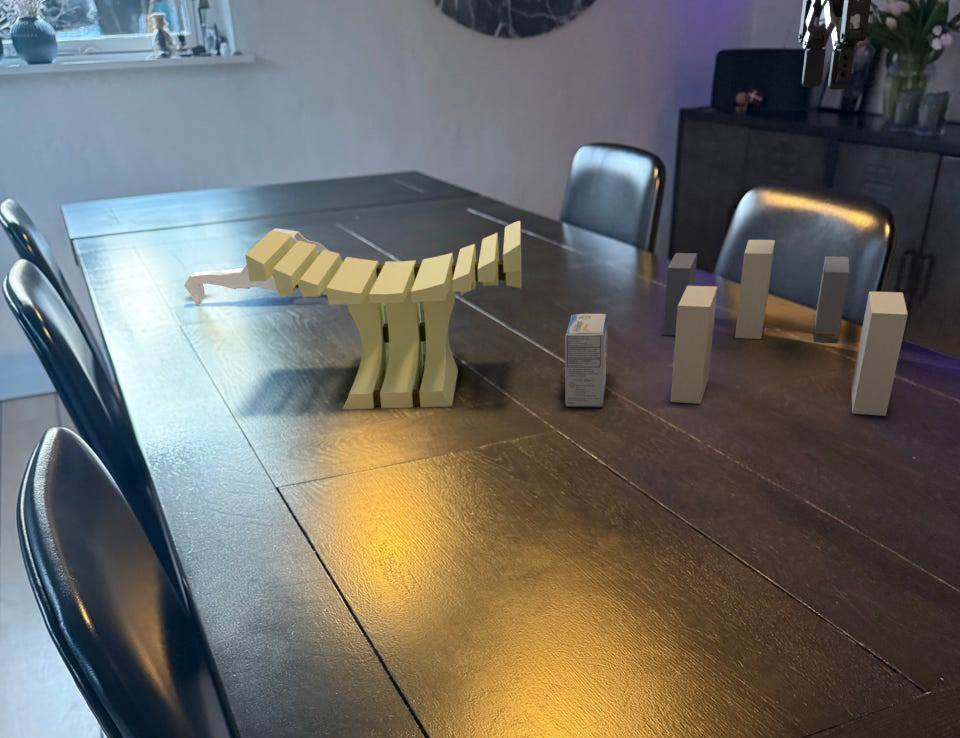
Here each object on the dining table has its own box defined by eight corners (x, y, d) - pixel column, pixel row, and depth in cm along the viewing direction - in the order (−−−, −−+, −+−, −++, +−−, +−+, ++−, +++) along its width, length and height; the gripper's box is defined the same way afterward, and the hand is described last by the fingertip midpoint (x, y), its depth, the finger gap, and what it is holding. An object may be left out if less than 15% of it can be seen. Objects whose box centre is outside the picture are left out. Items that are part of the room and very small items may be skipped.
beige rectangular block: (734, 338, 127) (744, 252, 120) (739, 321, 133) (748, 239, 127) (761, 339, 126) (772, 253, 119) (764, 322, 132) (775, 239, 126)
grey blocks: (662, 335, 129) (667, 267, 124) (670, 317, 136) (675, 252, 130) (837, 343, 123) (849, 272, 118) (836, 324, 129) (848, 256, 124)
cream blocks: (670, 402, 108) (677, 305, 102) (679, 377, 115) (687, 285, 108) (885, 416, 102) (907, 314, 96) (882, 389, 108) (902, 292, 102)
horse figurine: (331, 347, 159) (186, 295, 155) (357, 253, 150) (204, 194, 146) (326, 357, 155) (178, 303, 151) (353, 260, 146) (195, 200, 142)
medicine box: (602, 408, 107) (605, 333, 102) (564, 408, 108) (564, 333, 103) (606, 384, 114) (608, 312, 109) (569, 384, 114) (570, 312, 109)
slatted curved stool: (522, 360, 123) (520, 215, 112) (523, 404, 109) (520, 244, 99) (299, 367, 124) (276, 224, 114) (273, 411, 111) (245, 254, 101)
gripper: (911, -101, 92) (881, 88, 101) (855, -85, 104) (833, 83, 113) (836, -96, 92) (813, 93, 101) (789, -80, 104) (772, 87, 113)
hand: (824, 87), depth 107 cm, fingers open, 8 cm apart
